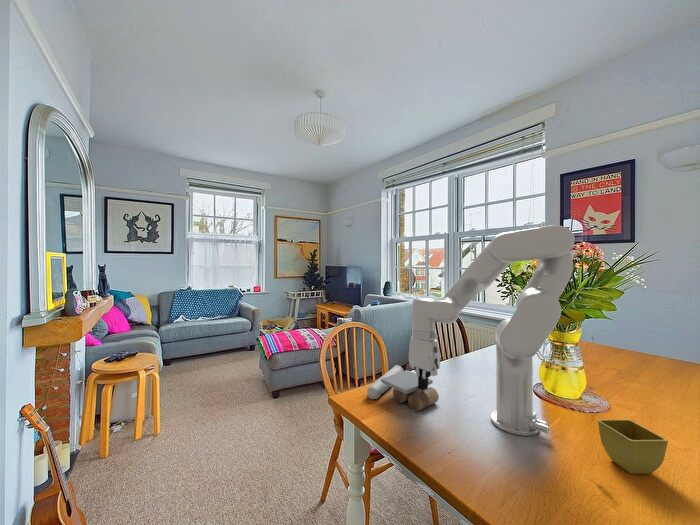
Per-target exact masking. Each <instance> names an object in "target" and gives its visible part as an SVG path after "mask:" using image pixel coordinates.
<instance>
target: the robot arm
mask: <svg viewBox="0 0 700 525" xmlns="http://www.w3.org/2000/svg"><path fill="white" fill-rule="evenodd" d="M575 238H576V237H575V235H574V233H573V232H572V230H571V229H570V228H568V227H565V226H563V225H560V224H552V225H545V226H544V225H543V226H540V227H532V228H528V229H527V228H526V229H521V230H513V231H506V232H502V233H499V234H497V235H495V236H494V238H493V239H492V240H491V241H490V242H489V243H488V244H487V245H486V246H485V248H484V249H483V250H482V251H481V252H480V253H479V254H478V255H477V257H475V259H474V260H473V261H472V262H471V263H470V264H469V265H468V267H466V269H465V270H464V271H463V272H462V274H461V275H460V277H459V279H458V280H457V281H456V282H455V284H454V285H453V286H452V287H451V288H450V289H449V290H448V291H447V293H445V295H444V296H443V297H441V299H440V300H434V299H433V298H428V297H416V298H414V299H413V300H412V304H411V305H412V306H411V307H412V308H411V309H412V314H411V315H412V323H411V333H412V334H411V337H410V341H409V345H408V362H409V367H410V368H411V369H413V370H414V373H416V375H417V377H418V389H421V390H422V391H423V390H425V389H427V388H429V385H428V378H430V377H435V376H436V377H437V376H438V375H439V374H438V370H440V368H441V358H440V347H439V343H438V340H437V339H438V337H439V336H438V334H436V323H440V324H446V325H447V324H448V325H449V324H453V323H455V322H456V321H457V320H458V319H459V316H460V313H461V312H462V311H463V310H464V309H465V307H467V306H468V305H469V303H470V302H472V300H473V299H474V298H475V297H476V296H478V295H479V294H480V293H483V292H484V291H486V290H487V289H488V288H489V287H490V286H491V285H492V283H494V282H495V281H496V280H497V279H498V277H500V275H501V274H502V273H503V272H504V271H505V270H506V269H507V268H508V267H509V266H510V265H511V263H513V262H523V261H524V262H525V261H526V262H527V261H534V260H537V265H536V267H535V270H534V272H533V274H531V277H530V278H529V279H528V282H527V283H526V284H525V286H524V288H523V289H522V290H521V292H520V293H519V295H518V296H517V298H516V300H515V308H516V309H515V312H514V313H513V314H512V316H511V318H506V319H503V320H502V321H500V322H499V324H498V325H497V326H496V329H495V351H496V352H495V353H496V364H495V366H496V369H495V370H496V372H495V373H496V375H495V376H496V380H495V381H496V382H495V383H496V390H495V391H496V395H495V398H496V401H495V404H496V405H495V406H496V408H495V409H496V410H494V411H492V412H491V414H490V420H491V422H492V423H493V425H494V426H496V427H497V428H498V429H500V430H503V431H505V432H507V433H509V434H513V435H516V436H522V437H523V436H524V437H527V436H528V437H529V436H535V435H537V434H538V433H539V432H542V433H544V434H547V435H548V434H549V431H550V426H548V422H547V421H544V420H542V419H541V420H540V419H539V418H538V417H537V412H536V411H533V410H534V409H533V408H534V407H533V402H534V399H533V394H534V392H533V386H534V385H533V384H534V383H533V381H534V378H533V376H534V368H533V366H534V364H533V357H534V356H536V354H538V353H539V351H540V350H541V348H542V347H543V345H544V344H545V342H546V341H547V339H548V338H549V336H551V333H552V332H553V331H554V329H555V327H556V326H557V324H558V323H559V320H560V318H561V315H562V306H561V303H560V301H559V298H560V297H561V296H562V294H563V292H564V290H565V288H566V287H567V285H568V283H569V281H570V280H571V277H572V275H573V271H574V270H573V269H574V260H573V256H572V253H571V250H572V249H573V247H574V245H575V242H576V241H575V240H576V239H575Z"/></svg>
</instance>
